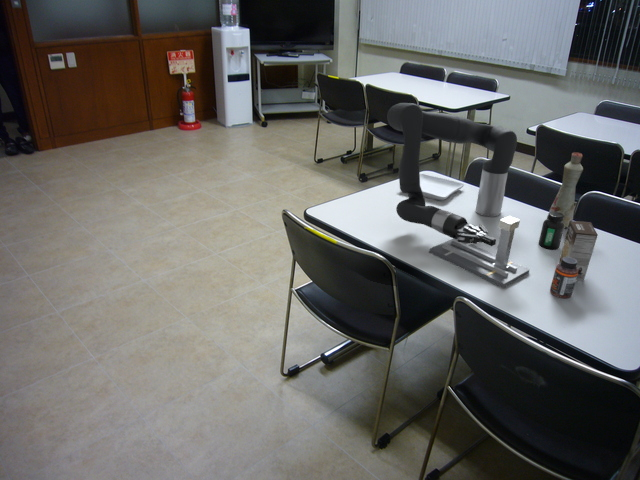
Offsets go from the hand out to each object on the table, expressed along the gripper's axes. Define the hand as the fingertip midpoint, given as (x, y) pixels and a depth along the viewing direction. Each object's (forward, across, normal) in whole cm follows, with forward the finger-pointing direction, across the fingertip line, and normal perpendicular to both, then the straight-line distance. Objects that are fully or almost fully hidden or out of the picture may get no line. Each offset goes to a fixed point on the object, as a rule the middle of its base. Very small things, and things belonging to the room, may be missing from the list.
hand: (494, 242), depth 162 cm
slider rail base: (-4, 0, +9) cm, 10 cm away
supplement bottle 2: (+22, +4, +9) cm, 24 cm away
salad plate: (-54, +38, +10) cm, 67 cm away
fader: (+4, 0, +7) cm, 8 cm away
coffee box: (+18, +18, +9) cm, 27 cm away
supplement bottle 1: (+4, +30, +9) cm, 31 cm away
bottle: (-3, +50, +9) cm, 51 cm away
